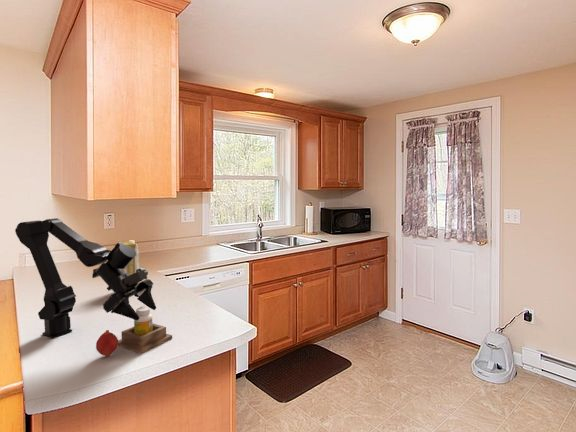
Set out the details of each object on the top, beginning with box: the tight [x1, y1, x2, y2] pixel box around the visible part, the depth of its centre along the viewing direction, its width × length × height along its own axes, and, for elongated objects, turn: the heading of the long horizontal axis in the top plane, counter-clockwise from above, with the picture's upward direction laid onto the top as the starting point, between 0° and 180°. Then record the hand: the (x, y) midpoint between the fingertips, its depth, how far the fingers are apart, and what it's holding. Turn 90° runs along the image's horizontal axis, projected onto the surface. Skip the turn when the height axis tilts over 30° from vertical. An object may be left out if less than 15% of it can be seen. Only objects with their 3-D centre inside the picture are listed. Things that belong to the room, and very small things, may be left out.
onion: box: [95, 329, 119, 358], centre depth 103 cm, size 6×6×8 cm
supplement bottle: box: [133, 306, 154, 335], centre depth 112 cm, size 5×5×10 cm
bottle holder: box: [118, 322, 173, 354], centre depth 113 cm, size 12×12×4 cm
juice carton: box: [120, 239, 141, 283], centre depth 167 cm, size 9×8×24 cm
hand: (147, 314), depth 112 cm, fingers open, 9 cm apart
